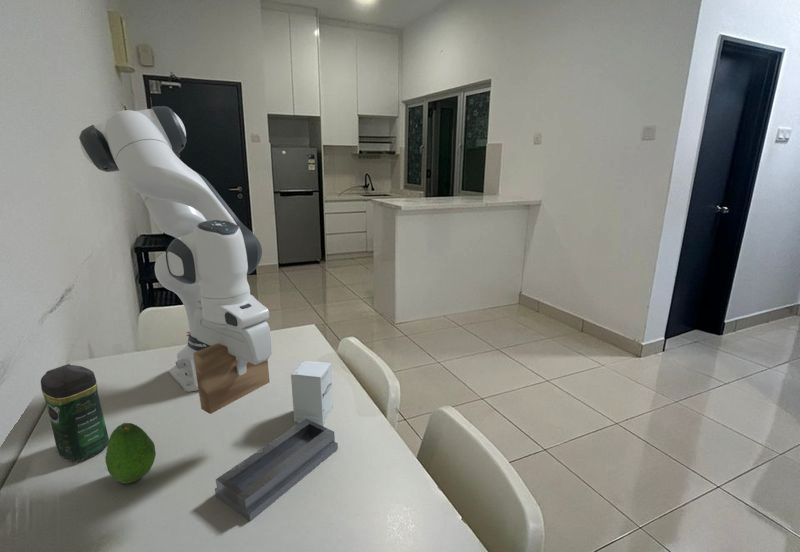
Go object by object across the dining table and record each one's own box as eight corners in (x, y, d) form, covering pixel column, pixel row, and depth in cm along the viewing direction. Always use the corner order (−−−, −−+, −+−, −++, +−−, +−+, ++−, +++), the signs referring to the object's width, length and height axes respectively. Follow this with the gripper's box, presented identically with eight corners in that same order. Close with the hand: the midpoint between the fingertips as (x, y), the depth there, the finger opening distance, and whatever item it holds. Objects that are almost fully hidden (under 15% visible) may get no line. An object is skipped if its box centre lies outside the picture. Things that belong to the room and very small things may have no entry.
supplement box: (323, 426, 95) (320, 377, 92) (293, 422, 97) (289, 374, 94) (334, 408, 102) (332, 362, 99) (306, 405, 104) (303, 359, 100)
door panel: (201, 408, 80) (193, 352, 77) (260, 378, 92) (255, 328, 88) (210, 414, 79) (202, 357, 75) (269, 382, 90) (264, 331, 87)
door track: (215, 495, 76) (213, 477, 75) (304, 432, 93) (303, 417, 92) (250, 521, 70) (248, 502, 69) (337, 449, 88) (337, 433, 87)
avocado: (108, 499, 75) (95, 442, 72) (113, 471, 82) (102, 418, 78) (158, 484, 78) (148, 429, 75) (160, 458, 85) (150, 407, 82)
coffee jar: (117, 445, 89) (100, 367, 84) (74, 468, 82) (53, 385, 77) (93, 431, 94) (76, 357, 89) (52, 452, 87) (31, 372, 82)
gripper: (181, 299, 83) (190, 362, 86) (246, 322, 72) (252, 392, 76) (210, 291, 88) (217, 351, 91) (275, 311, 77) (280, 378, 81)
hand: (234, 370), depth 83 cm, fingers closed on door panel, 3 cm apart
